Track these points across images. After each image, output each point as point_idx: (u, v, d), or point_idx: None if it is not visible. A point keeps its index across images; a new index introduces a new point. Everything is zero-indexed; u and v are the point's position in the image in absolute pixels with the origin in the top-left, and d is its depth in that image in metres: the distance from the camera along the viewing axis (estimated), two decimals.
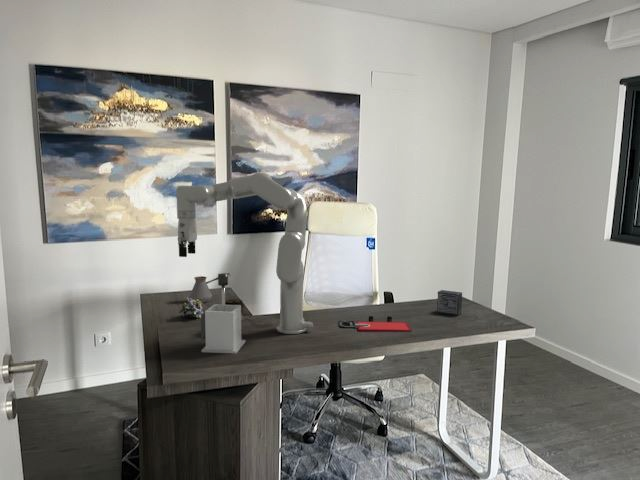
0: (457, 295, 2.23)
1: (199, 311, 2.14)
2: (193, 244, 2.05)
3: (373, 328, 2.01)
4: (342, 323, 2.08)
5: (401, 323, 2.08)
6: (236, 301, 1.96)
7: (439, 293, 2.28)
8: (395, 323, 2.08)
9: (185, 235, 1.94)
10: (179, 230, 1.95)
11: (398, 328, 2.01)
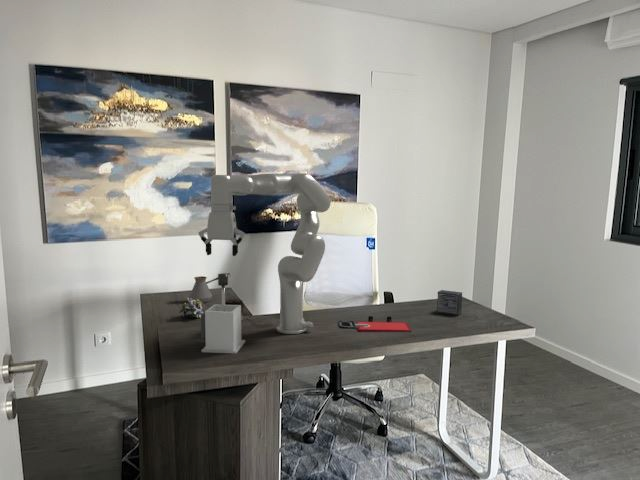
0: (457, 295, 2.23)
1: (199, 311, 2.14)
2: None
3: (373, 328, 2.01)
4: (342, 323, 2.07)
5: (401, 323, 2.08)
6: (236, 301, 1.96)
7: (439, 293, 2.28)
8: (395, 323, 2.08)
9: None
10: (233, 226, 1.71)
11: (398, 328, 2.01)
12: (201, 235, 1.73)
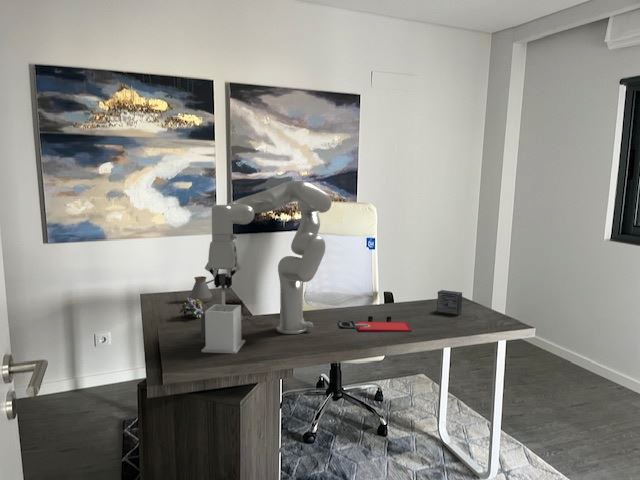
0: (457, 295, 2.23)
1: (199, 311, 2.14)
2: None
3: (373, 328, 2.00)
4: (342, 323, 2.07)
5: (401, 323, 2.08)
6: (236, 301, 1.96)
7: (439, 293, 2.28)
8: (395, 323, 2.08)
9: (237, 260, 1.75)
10: (234, 255, 1.72)
11: (398, 328, 2.01)
12: (208, 269, 1.75)
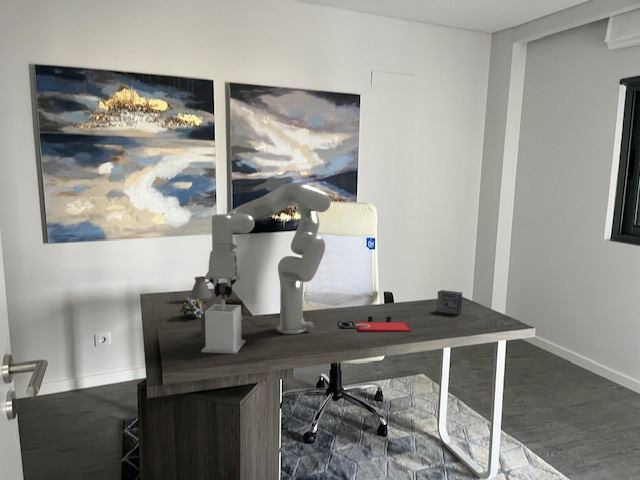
0: (457, 295, 2.23)
1: (199, 311, 2.14)
2: None
3: (373, 328, 2.00)
4: (342, 323, 2.07)
5: (401, 323, 2.08)
6: (236, 301, 1.96)
7: (439, 293, 2.28)
8: (395, 323, 2.08)
9: (237, 269, 1.76)
10: (234, 264, 1.73)
11: (398, 328, 2.01)
12: (208, 278, 1.75)
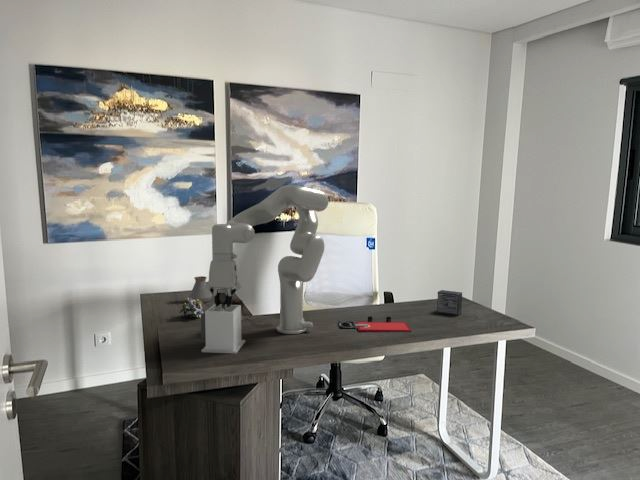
0: (457, 295, 2.23)
1: (199, 311, 2.14)
2: None
3: (373, 328, 2.00)
4: (342, 324, 2.07)
5: (400, 323, 2.08)
6: (236, 301, 1.96)
7: (439, 293, 2.28)
8: (394, 323, 2.08)
9: (237, 278, 1.76)
10: (234, 274, 1.73)
11: (398, 328, 2.01)
12: (208, 287, 1.75)
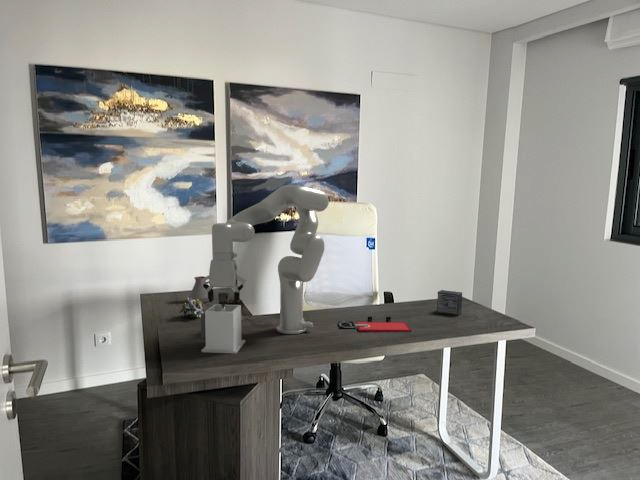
0: (457, 295, 2.23)
1: (199, 311, 2.14)
2: (212, 290, 1.77)
3: (373, 328, 2.00)
4: (342, 324, 2.07)
5: (400, 323, 2.08)
6: None
7: (439, 293, 2.28)
8: (394, 323, 2.08)
9: None
10: (235, 273, 1.73)
11: (398, 328, 2.01)
12: (203, 282, 1.76)
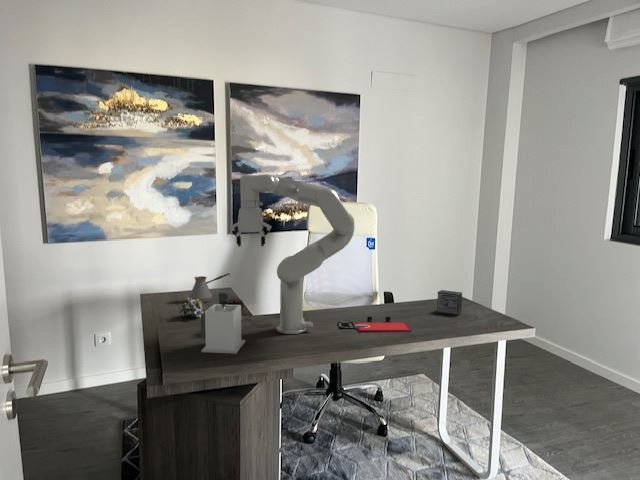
0: (457, 295, 2.23)
1: (199, 311, 2.14)
2: None
3: (373, 328, 2.00)
4: (341, 324, 2.06)
5: (400, 323, 2.08)
6: (236, 301, 1.96)
7: (439, 293, 2.28)
8: (394, 323, 2.07)
9: None
10: (261, 220, 1.94)
11: (398, 328, 2.01)
12: (232, 229, 1.96)
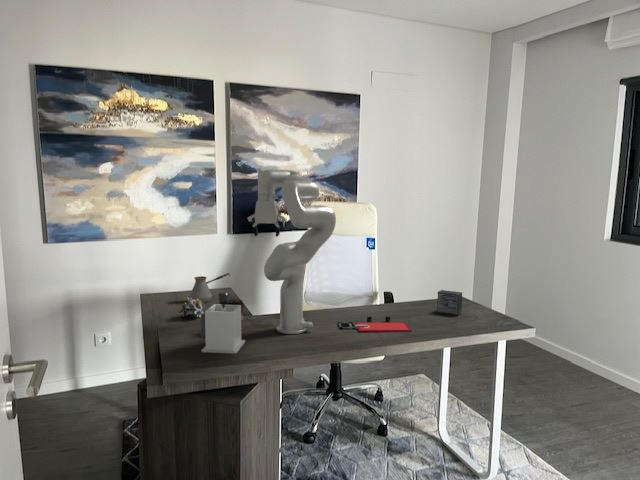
0: (457, 295, 2.23)
1: (199, 311, 2.14)
2: (256, 226, 2.13)
3: (373, 328, 2.00)
4: (341, 324, 2.06)
5: (400, 323, 2.08)
6: (236, 301, 1.96)
7: (439, 293, 2.28)
8: (394, 323, 2.07)
9: None
10: (276, 212, 2.10)
11: (398, 328, 2.01)
12: (249, 220, 2.12)
